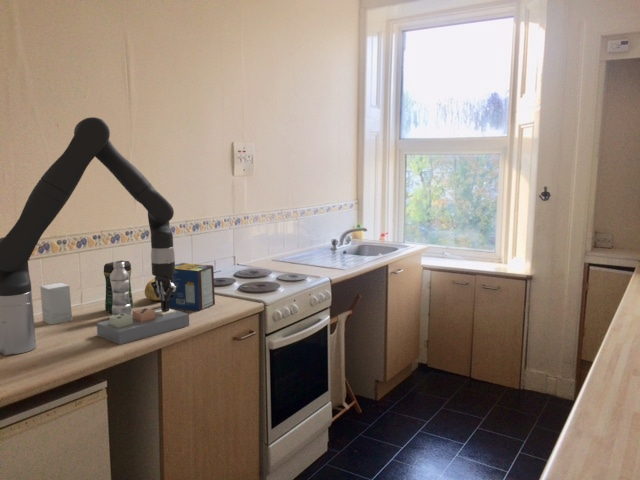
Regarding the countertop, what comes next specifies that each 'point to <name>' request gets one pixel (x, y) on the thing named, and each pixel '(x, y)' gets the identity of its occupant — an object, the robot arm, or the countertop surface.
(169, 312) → the button one dot
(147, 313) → the button three dots
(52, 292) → the supplement box
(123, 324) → the button two dots
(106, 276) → the coffee jar
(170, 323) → the button panel
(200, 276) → the protein box
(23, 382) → the countertop surface
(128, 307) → the plastic bottle
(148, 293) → the potato
